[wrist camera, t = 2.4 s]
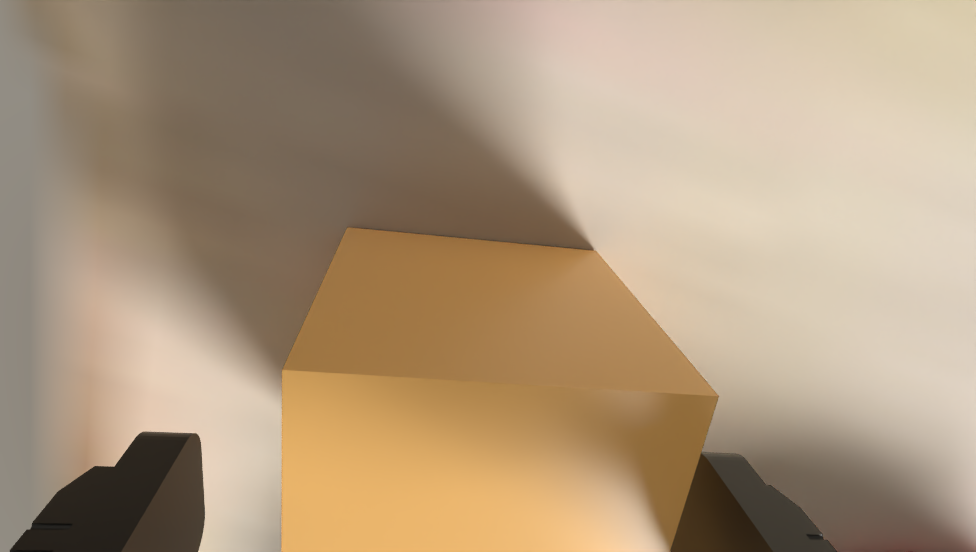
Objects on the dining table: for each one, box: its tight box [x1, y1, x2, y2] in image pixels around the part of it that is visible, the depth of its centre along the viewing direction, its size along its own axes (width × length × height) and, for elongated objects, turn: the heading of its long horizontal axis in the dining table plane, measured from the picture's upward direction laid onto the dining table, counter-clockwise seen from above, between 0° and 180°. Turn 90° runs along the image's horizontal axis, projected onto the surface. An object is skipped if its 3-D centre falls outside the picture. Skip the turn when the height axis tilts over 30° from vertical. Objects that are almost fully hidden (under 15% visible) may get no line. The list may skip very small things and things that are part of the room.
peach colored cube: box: [281, 227, 719, 552], centre depth 11 cm, size 6×6×6 cm
